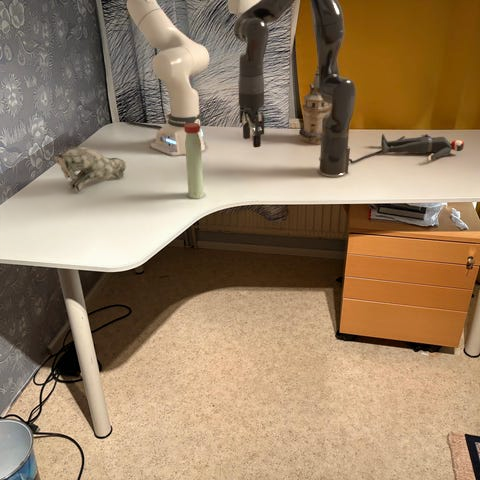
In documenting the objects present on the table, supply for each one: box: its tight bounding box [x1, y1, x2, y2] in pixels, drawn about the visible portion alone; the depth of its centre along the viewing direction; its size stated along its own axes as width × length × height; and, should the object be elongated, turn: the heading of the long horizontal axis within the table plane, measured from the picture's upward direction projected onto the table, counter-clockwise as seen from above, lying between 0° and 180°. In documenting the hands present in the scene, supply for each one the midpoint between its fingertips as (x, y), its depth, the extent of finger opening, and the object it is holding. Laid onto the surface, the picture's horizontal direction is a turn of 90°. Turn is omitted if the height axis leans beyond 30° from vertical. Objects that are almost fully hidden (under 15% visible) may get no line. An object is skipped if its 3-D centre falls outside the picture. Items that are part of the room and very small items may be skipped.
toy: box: [380, 133, 465, 162], centre depth 205 cm, size 26×6×30 cm
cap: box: [184, 123, 200, 133], centre depth 164 cm, size 5×5×2 cm
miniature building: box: [298, 65, 332, 145], centre depth 213 cm, size 13×14×30 cm
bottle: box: [185, 133, 204, 200], centre depth 169 cm, size 5×5×23 cm
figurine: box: [54, 146, 127, 193], centre depth 180 cm, size 10×19×20 cm
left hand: (250, 25), depth 175 cm, fingers open, 8 cm apart
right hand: (251, 142), depth 165 cm, fingers open, 8 cm apart
